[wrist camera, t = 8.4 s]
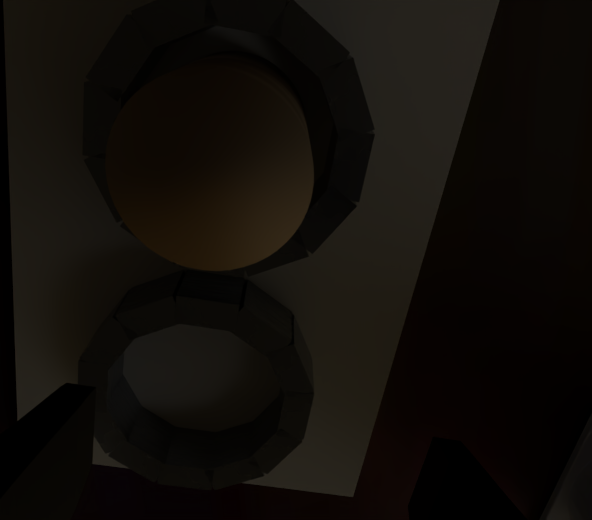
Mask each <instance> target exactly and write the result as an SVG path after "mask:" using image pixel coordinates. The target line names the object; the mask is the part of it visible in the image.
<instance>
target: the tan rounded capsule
mask: <svg viewBox="0 0 592 520" xmlns="http://www.w3.org/2000/svg"><path fill="white" fill-rule="evenodd" d="M105 170H106V179H107V184H108V188H109V192H110V195H111V198H112V200H113V203H114V205H115V207H116V209H117V211H118V213H119V215H120V217H121V218H122V220H123V221H124V223H125V224H126V225H127V227H128V228H129V229H130V231H131V232H132V233H133V234H134V235H135V236H136V237H137V238H138V239H139V240H140V241H141V242H142V243H143V244H144V245H146V246H147V247H148V248H150V249H151V250H152V251H154V252H155V253H157V254H158V255H160V256H162V257H164V258H166V259H168V260H169V261H172V262H174V263H177V264H179V265H182V266H186V267H190V268H193V269H200V270H207V271H223V270H233V269H237V268H242V267H246V266H249V265H251V264H254V263H257V262H259V261H261V260H263V259H265V258H267V257H268V256H270V255H271V254H273V253H274V252H276V251H277V250H278V249H280V248H281V247H282V246H283V245H284V244H285V243H286V242H287V241H288V240H289V239H290V238H291V237H292V236H293V234H294V233H295V232H296V230H297V229H298V227H299V226H300V224H301V223H302V221H303V219H304V217H305V215H306V213H307V210H308V207H309V204H310V201H311V197H312V192H313V186H314V166H313V157H312V151H311V145H310V140H309V134H308V128H307V122H306V116H305V111H304V106H303V103H302V100H301V98H300V95H299V93H298V91H297V89H296V87H295V86H294V84H293V83H292V81H291V80H290V79H289V78H288V77H287V75H286V74H285V73H284V72H283V71H282V70H281V69H279V68H278V67H277V66H276V65H274V64H273V63H271V62H270V61H268V60H266V59H264V58H262V57H260V56H258V55H254V54H251V53H247V52H242V51H224V52H218V53H214V54H210V55H208V56H205V57H203V58H201V59H198V60H196V61H194V62H192V63H189V64H187V65H185V66H183V67H180V68H178V69H176V70H174V71H171V72H169V73H167V74H164V75H162V76H160V77H158V78H156V79H154V80H153V81H151V82H149V83H148V84H146V85H145V86H143V87H142V88H141V89H140V90H138V91H137V92H136V93H135V94H134V95H133V96H132V97H131V98H130V99H129V100H128V101H127V102H126V104H125V105H124V106H123V108H122V109H121V111H120V112H119V114H118V116H117V118H116V120H115V122H114V124H113V126H112V128H111V131H110V135H109V138H108V142H107V148H106V156H105Z"/></svg>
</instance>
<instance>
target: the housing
mask: <svg viewBox="0 0 592 520" xmlns="http://www.w3.org/2000/svg"><path fill="white" fill-rule="evenodd" d="M498 3H499V0H3V10H4V40H5V69H6V98H7V128H8V157H9V186H10V216H11V245H12V274H13V304H14V333H15V362H16V392H17V421H18V420H19V419H21V418H22V417H23V416H24V415H26V414H27V413H28V412H29V411H31V410H32V409H33V408H34V407H36V406H37V405H38V404H39V403H41V402H42V401H43V400H44V399H46V398H47V397H48V396H49V395H50V394H52V393H53V392H54V391H55V390H57V389H58V388H59V387H60V386H62V385H64V384H65V383H72V384H79V385H85V386H92V387H96V400H95V421H94V441H93V462H92V464H99V465H106V466H114V467H122V468H130V469H131V470H133V471H135V472H137V473H138V474H140V475H142V476H144V477H145V478H147V479H149V480H151V481H152V482H155V481H156V480H157V479H158V484H164V485H172V486H180V487H188V488H196V489H204V490H211V487H212V486H213V488H214V490H217V489H220V488H224V487H227V486H231V485H235V484H238V483H248V484H256V485H264V486H271V487H279V488H287V489H295V490H303V491H311V492H318V493H326V494H334V495H342V496H350V497H353V495H354V491H355V488H356V484H357V481H358V478H359V474H360V471H361V467H362V464H363V461H364V457H365V454H366V451H367V447H368V444H369V440H370V437H371V434H372V430H373V427H374V423H375V420H376V417H377V413H378V410H379V406H380V403H381V400H382V396H383V393H384V390H385V386H386V383H387V379H388V376H389V373H390V369H391V366H392V362H393V359H394V356H395V352H396V349H397V346H398V342H399V339H400V335H401V332H402V329H403V325H404V322H405V318H406V315H407V312H408V308H409V305H410V301H411V298H412V295H413V291H414V288H415V285H416V281H417V278H418V274H419V271H420V268H421V264H422V261H423V257H424V254H425V251H426V247H427V244H428V240H429V237H430V234H431V230H432V227H433V224H434V220H435V217H436V213H437V210H438V207H439V203H440V200H441V196H442V193H443V190H444V186H445V183H446V179H447V176H448V173H449V169H450V166H451V163H452V159H453V156H454V152H455V149H456V146H457V142H458V139H459V135H460V132H461V129H462V125H463V122H464V119H465V115H466V112H467V108H468V105H469V102H470V98H471V95H472V91H473V88H474V85H475V81H476V78H477V74H478V71H479V68H480V64H481V61H482V58H483V54H484V51H485V47H486V44H487V41H488V37H489V34H490V30H491V27H492V24H493V20H494V17H495V13H496V10H497V7H498ZM224 51H242V52H247V53H251V54H254V55H258V56H260V57H262V58H264V59H266V60H268V61H270V62H271V63H273V64H274V65H276V66H277V67H278V68H279V69H281V70H282V71H283V72H284V73H285V74H286V75H287V77H288V78H289V79H290V80H291V81H292V83H293V84H294V86H295V87H296V89H297V91H298V93H299V95H300V98H301V100H302V103H303V106H304V111H305V116H306V122H307V128H308V134H309V140H310V145H311V151H312V157H313V166H314V186H313V192H312V197H311V201H310V204H309V207H308V210H307V213H306V215H305V217H304V219H303V221H302V223H301V224H300V226H299V227H298V229H297V230H296V232H295V233H294V234H293V236H292V237H291V238H290V239H289V240H288V241H287V242H286V243H285V244H284V245H283V246H282V247H281V248H280V249H278V250H277V251H276V252H274V253H273V254H271V255H270V256H268V257H267V258H265V259H263V260H261V261H259V262H257V263H254V264H251V265H249V266H246V267H242V268H237V269H233V270H223V271H207V270H200V269H193V268H190V267H186V266H182V265H179V264H177V263H174V262H172V261H169V260H168V259H166V258H164V257H162V256H160V255H158V254H157V253H155V252H154V251H152V250H151V249H150V248H148V247H147V246H146V245H144V244H143V243H142V242H141V241H140V240H139V239H138V238H137V237H136V236H135V235H134V234H133V233H132V232H131V231H130V229H129V228H128V227H127V225H126V224H125V223H124V221H123V220H122V218H121V217H120V215H119V213H118V211H117V209H116V207H115V205H114V203H113V200H112V198H111V195H110V192H109V188H108V184H107V179H106V170H105V156H106V148H107V142H108V138H109V135H110V131H111V128H112V126H113V124H114V122H115V120H116V118H117V116H118V114H119V112H120V111H121V109H122V108H123V106H124V105H125V104H126V102H127V101H128V100H129V99H130V98H131V97H132V96H133V95H134V94H135V93H136V92H137V91H138V90H140V89H141V88H142V87H143V86H145V85H146V84H148V83H149V82H151V81H153V80H154V79H156V78H158V77H160V76H162V75H164V74H167V73H169V72H171V71H174V70H176V69H178V68H180V67H183V66H185V65H187V64H189V63H192V62H194V61H196V60H198V59H201V58H203V57H205V56H208V55H210V54H214V53H218V52H224Z"/></svg>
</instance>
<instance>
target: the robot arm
mask: <svg viewBox="0 0 592 520" xmlns="http://www.w3.org/2000/svg"><path fill="white" fill-rule="evenodd" d="M95 400H96V387H92V386H85V385H79V384H72V383H65V384H64V385H62V386H60V387H59V388H58V389H57V390H55V391H54V392H53V393H52V394H50V395H49V396H48V397H47V398H46V399H44V400H43V401H42V402H41V403H39V404H38V405H37V406H36V407H34V408H33V409H32V410H31V411H29V412H28V413H27V414H26V415H24V416H23V417H22V418H21V419H19V420H18V421H17V422H15V423H14V424H13V425H12V426H10V427H9V428H8V429H6V430H5V431H4V432H2V433H1V434H0V520H70V519H71V517H72V515H73V513H74V511H75V508H76V506H77V503H78V501H79V498H80V495H81V493H82V490H83V487H84V485H85V482H86V479H87V476H88V474H89V471H90V468H91V465H92V462H93V441H94V421H95ZM408 510H409V519H410V520H527V519H526V518H525V517H524V515H523V514H522V513H521V512H520V511H519V510H518V508H517V507H516V506H515V505H514V504H513V503H512V501H511V500H510V499H509V498H508V497H507V496H506V494H505V493H504V492H503V491H502V490H501V488H500V487H499V486H498V485H497V484H496V482H495V481H494V480H493V479H492V478H491V476H490V475H489V474H488V473H487V472H486V470H485V469H484V468H483V467H482V466H481V464H480V463H479V462H478V461H477V460H476V458H475V457H474V456H473V455H472V454H471V453H470V451H469V450H468V449H467V448H466V447H465V446H464V444H463V443H462V442H461V441H457V440H450V439H443V438H436V437H433V439H432V442H431V445H430V447H429V450H428V453H427V456H426V458H425V461H424V464H423V467H422V469H421V472H420V475H419V478H418V480H417V483H416V486H415V489H414V491H413V494H412V497H411V499H410V502H409V505H408ZM539 520H592V413H591V415H590V417H589V419H588V421H587V423H586V425H585V427H584V430H583V432H582V434H581V436H580V438H579V440H578V442H577V444H576V446H575V448H574V450H573V452H572V454H571V456H570V458H569V460H568V462H567V464H566V466H565V468H564V470H563V472H562V474H561V476H560V478H559V480H558V483H557V485H556V487H555V489H554V491H553V493H552V495H551V497H550V499H549V501H548V503H547V505H546V507H545V509H544V511H543V513H542V515H541V517H540V519H539Z"/></svg>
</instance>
